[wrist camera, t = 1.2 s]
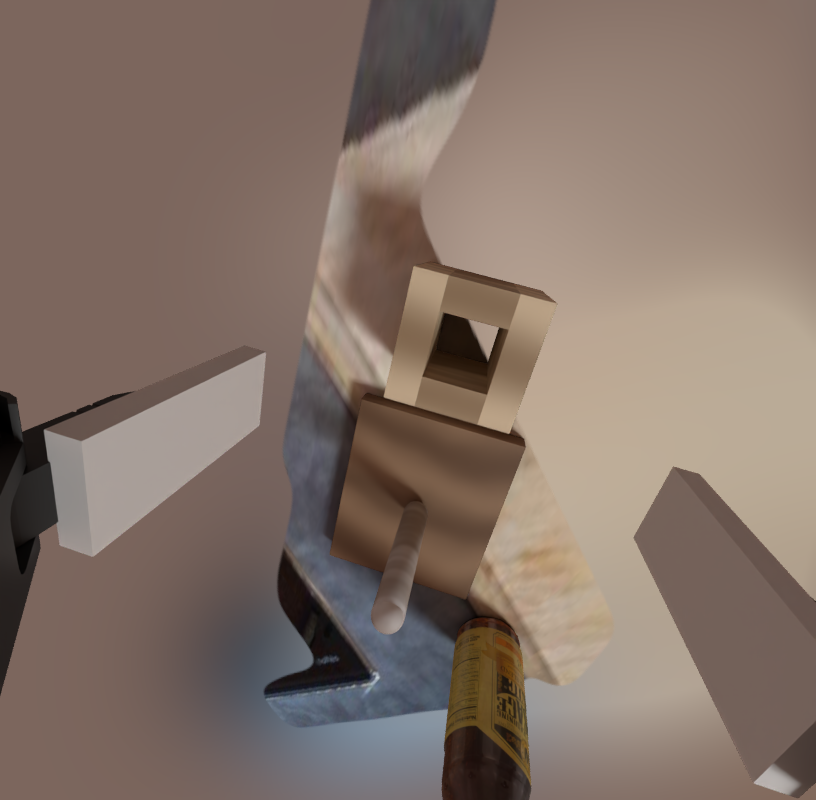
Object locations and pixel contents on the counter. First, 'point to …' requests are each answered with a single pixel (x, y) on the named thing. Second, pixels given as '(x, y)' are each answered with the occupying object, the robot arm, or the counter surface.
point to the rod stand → (420, 501)
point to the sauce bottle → (486, 716)
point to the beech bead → (457, 376)
